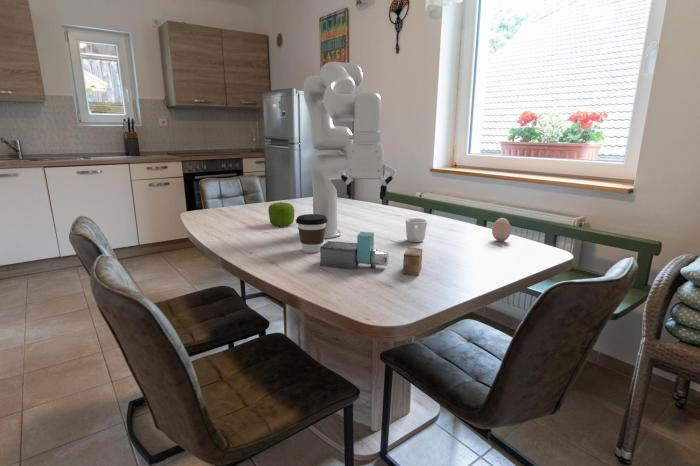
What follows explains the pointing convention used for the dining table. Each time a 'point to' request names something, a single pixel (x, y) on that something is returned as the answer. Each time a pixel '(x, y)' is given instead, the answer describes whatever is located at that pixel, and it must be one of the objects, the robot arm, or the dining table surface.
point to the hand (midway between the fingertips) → (366, 198)
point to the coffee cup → (311, 231)
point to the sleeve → (338, 255)
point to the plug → (369, 251)
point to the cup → (415, 229)
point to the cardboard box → (412, 261)
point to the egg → (501, 229)
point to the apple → (281, 214)
